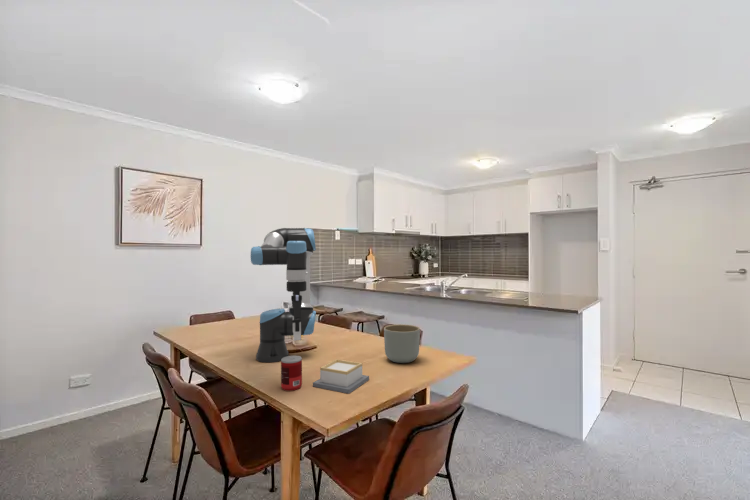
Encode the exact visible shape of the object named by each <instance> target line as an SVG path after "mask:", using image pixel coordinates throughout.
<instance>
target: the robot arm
mask: <svg viewBox="0 0 750 500" xmlns="http://www.w3.org/2000/svg"><path fill="white" fill-rule="evenodd" d="M315 239H316V238H315V233H314V230H313V228H309V227H308V228H306V227H301V228H300V227H296V228H295V227H291V228H290V227H281V228H277V229H275V230H272V231H269V232H267V234H266V235H265V236H264V239H263V243H262V244H261V246H259V245H258V246H252V247H251V249H250V262H251V264H252V265H254V266H264V265H265V266H275V265H278V266H279V265H280V266H283V265H284V266H285V265H286V270H285V271H286V272H285V275H286V278H285V279H286V291H287V292H288V293H289V292H290V293H292V295H291V296H290V297H291V299H290V300H291V305H290V306H289V310H288V311H286V309H285V308H274V309H273V308H272V309H269V310H264V311H263V312H262V313H261V314H260V316H259V345H258V348H257V352H256V354H255V360H256V361H257V360H258V361H257V362H260V363H261V362H262V363H276V362H281V359H282V358H284V357H286V356H289V350H288V348H287V344H286V341H285V340H286V339H285V338H286V337H289V336H290V337H291V336H293V338H292V339H293V341H301V340H302V336H308V335H309V336H310V335H312V334H313V333H314V331H315V325H316V324H315V323H316V315H317V314H316V313H317V311H316V310H314V306H313V305H312V304H311V257H312V256H313V255H314V252H315V251H316V250H317V249H316V246H317V245H316V240H315Z"/></svg>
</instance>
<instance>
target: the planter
mask: <svg viewBox="0 0 750 500" xmlns="http://www.w3.org/2000/svg"><path fill="white" fill-rule="evenodd" d="M420 332H421V328H420V327H419V326H416V325H414V324H413V325H412V324H402V323H401V324H388V325H386V326H384V327H383V338H384V343H383V344H384V354H385V355H386V357H387V359H388V360H389V361H391V362H392V363H396V364H408V363H412V362H414V361H415V360H416V359H417V358H418V356H419V354H420V340H421V339H420V338H421V337H420V336H421V335H420Z"/></svg>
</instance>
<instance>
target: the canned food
mask: <svg viewBox="0 0 750 500" xmlns="http://www.w3.org/2000/svg"><path fill="white" fill-rule="evenodd" d="M302 380H303V358H302V356H300V355H288V356H286V357H284V358H282V359H281V361H280V385H281V390H283V391H286V392H288V391H289V392H291V391H296V390H297V391H298V390H299V389H301V387H302V385H303V381H302Z"/></svg>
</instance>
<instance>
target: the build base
mask: <svg viewBox="0 0 750 500" xmlns="http://www.w3.org/2000/svg"><path fill="white" fill-rule="evenodd" d="M319 369H320V370H319V379H317V380H316V381H314V382H312V387H313V388H317V389H323V390H329V391H333V392H338V393H344V394H351V393H352V392H353V391H355V390H357V389H358V388H360V387H361V386H362V385H364V384H365V383H367V382H369V380H370V375H365V374H363V363H362V362H358V361H351V360H345V359H337V358H336V359H334V360H332V361H331V362H328V363H326V364H324V365H322V366H321V367H320V368H319Z"/></svg>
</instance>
